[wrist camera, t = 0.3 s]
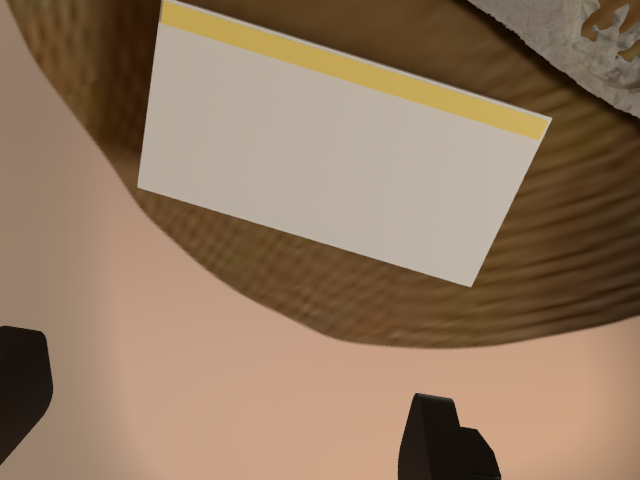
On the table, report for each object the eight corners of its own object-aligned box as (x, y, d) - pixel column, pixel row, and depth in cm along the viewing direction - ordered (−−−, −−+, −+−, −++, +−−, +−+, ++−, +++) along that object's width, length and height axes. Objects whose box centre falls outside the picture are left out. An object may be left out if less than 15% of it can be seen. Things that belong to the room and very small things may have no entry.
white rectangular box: (196, 5, 32) (160, -4, 26) (520, 106, 33) (553, 118, 27) (171, 166, 37) (136, 188, 31) (455, 252, 38) (471, 288, 32)
